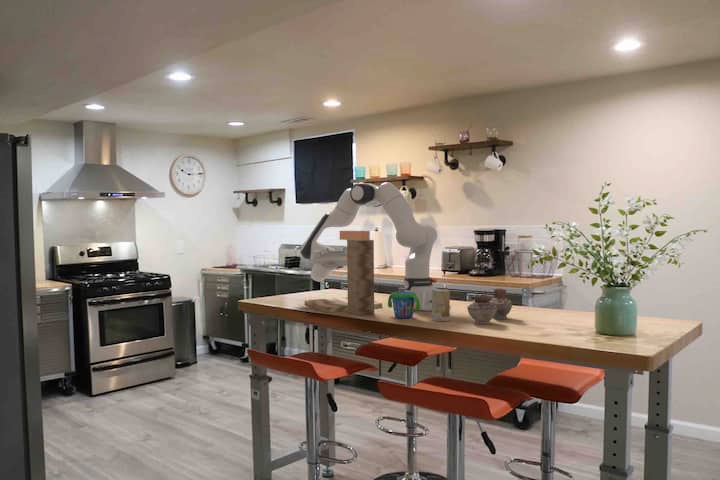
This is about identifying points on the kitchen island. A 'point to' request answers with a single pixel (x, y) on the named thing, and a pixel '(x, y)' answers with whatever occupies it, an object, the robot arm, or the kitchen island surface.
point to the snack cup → (403, 303)
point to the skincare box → (440, 305)
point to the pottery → (490, 307)
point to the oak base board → (333, 304)
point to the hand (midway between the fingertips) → (336, 248)
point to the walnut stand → (360, 277)
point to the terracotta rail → (355, 235)
